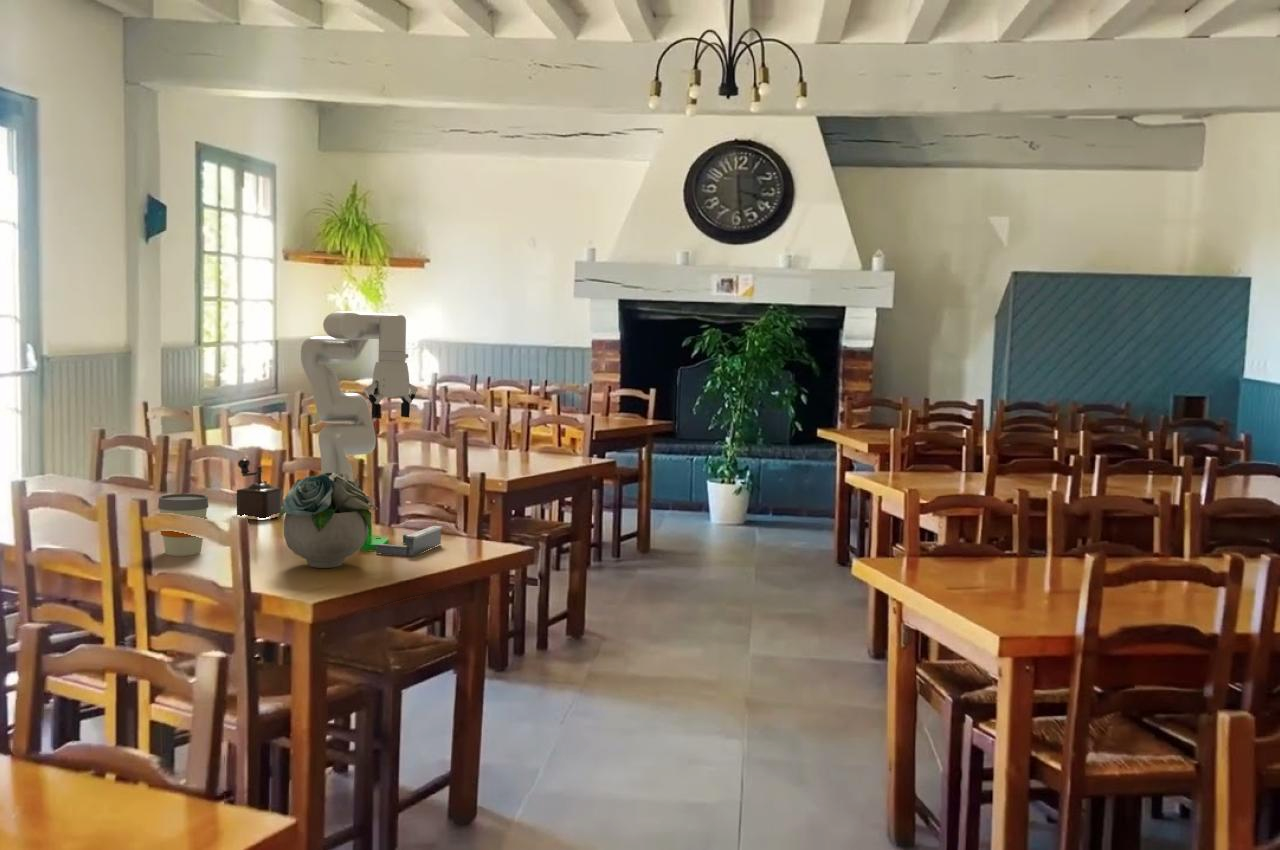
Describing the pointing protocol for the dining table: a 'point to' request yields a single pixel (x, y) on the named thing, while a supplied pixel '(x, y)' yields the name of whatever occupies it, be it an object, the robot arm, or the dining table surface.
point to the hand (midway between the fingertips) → (390, 417)
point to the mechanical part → (373, 541)
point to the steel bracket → (414, 542)
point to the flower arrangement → (326, 519)
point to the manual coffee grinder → (257, 496)
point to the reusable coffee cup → (185, 506)
